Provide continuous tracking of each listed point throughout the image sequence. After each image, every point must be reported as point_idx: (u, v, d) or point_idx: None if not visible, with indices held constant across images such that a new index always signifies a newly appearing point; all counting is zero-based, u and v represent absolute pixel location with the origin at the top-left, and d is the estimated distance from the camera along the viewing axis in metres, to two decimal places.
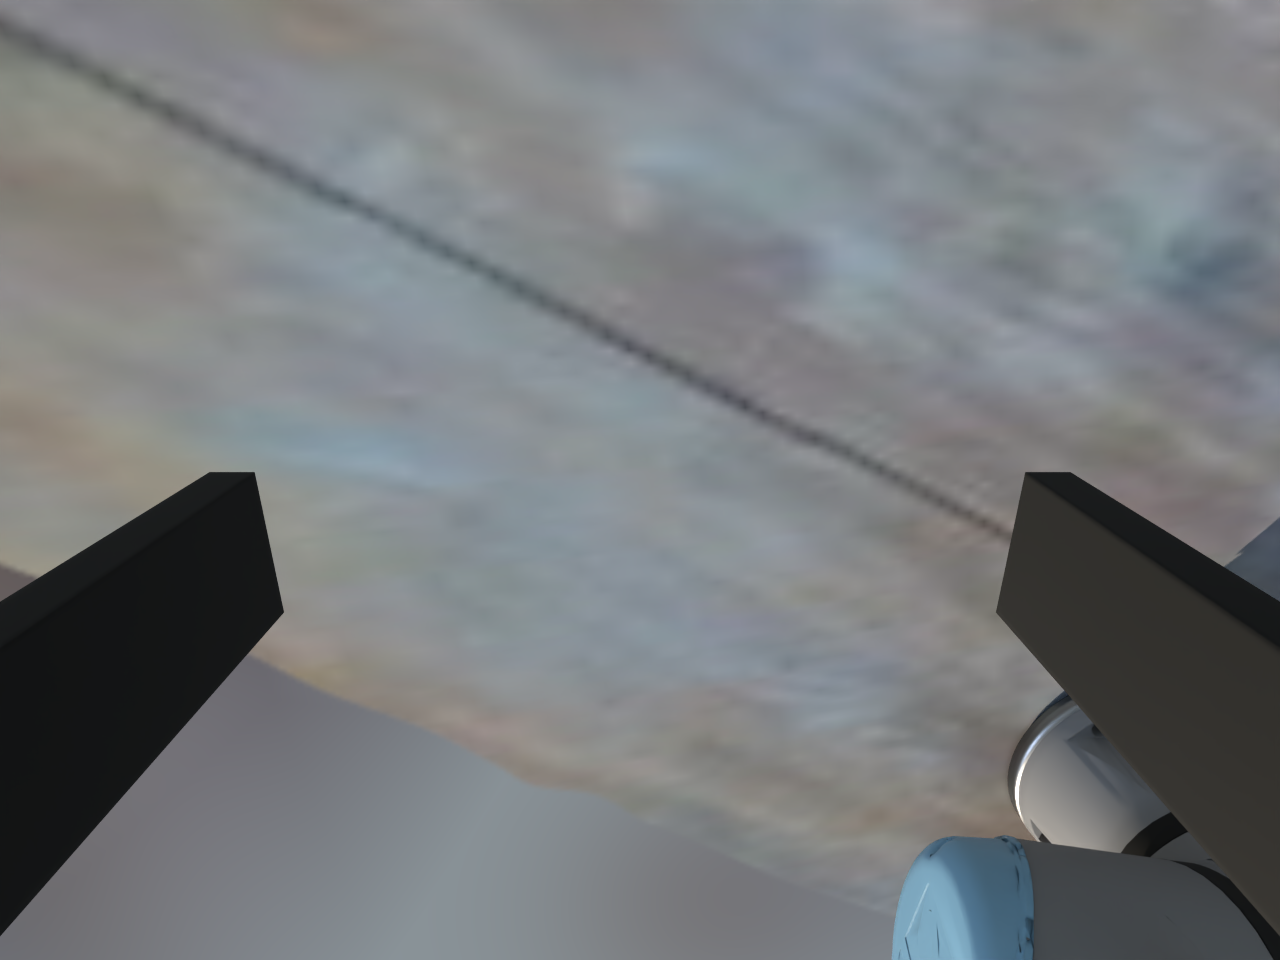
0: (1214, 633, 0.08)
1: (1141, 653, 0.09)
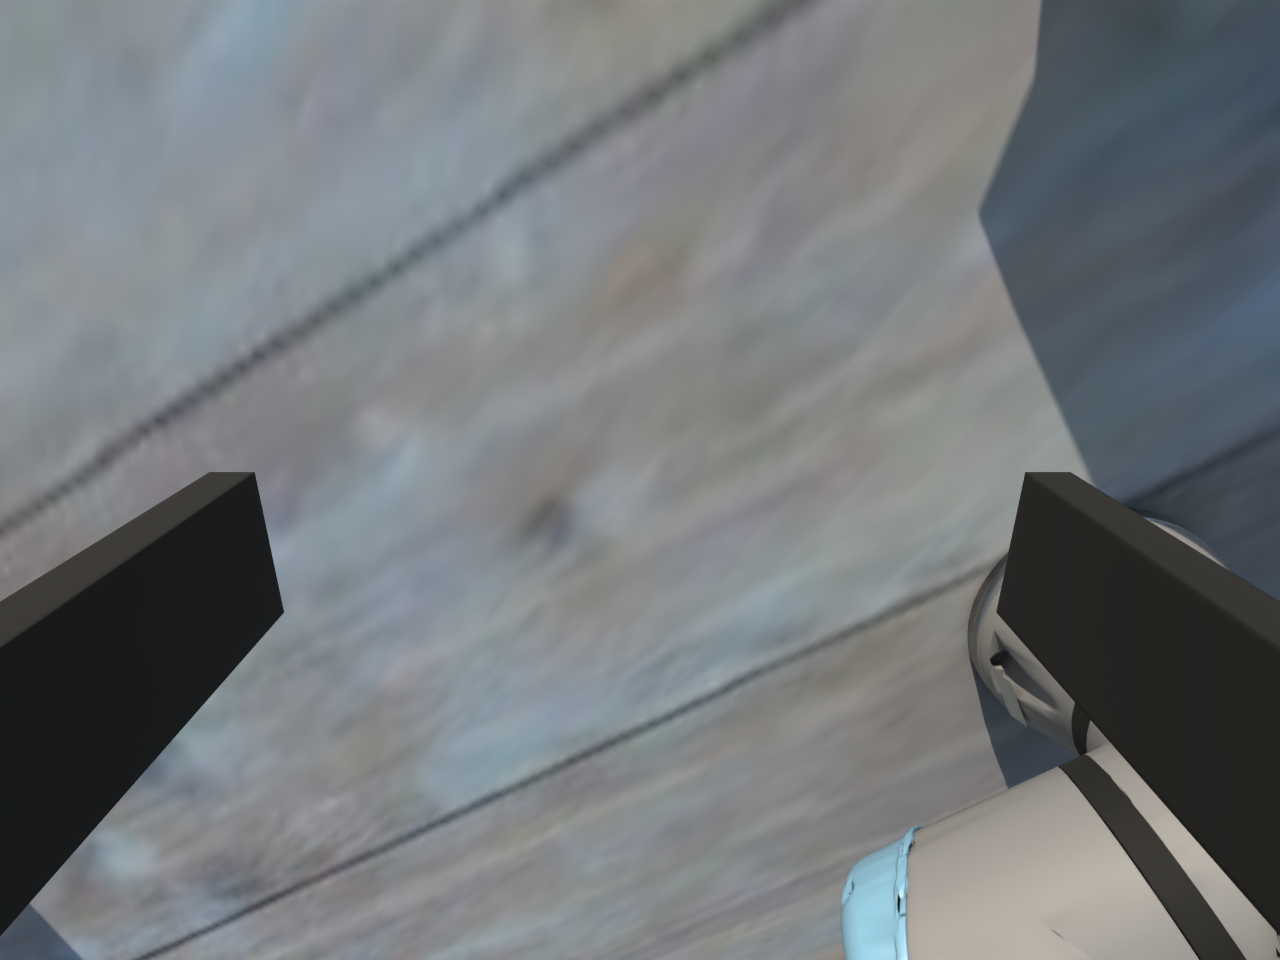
0: (1214, 633, 0.08)
1: (1141, 653, 0.09)
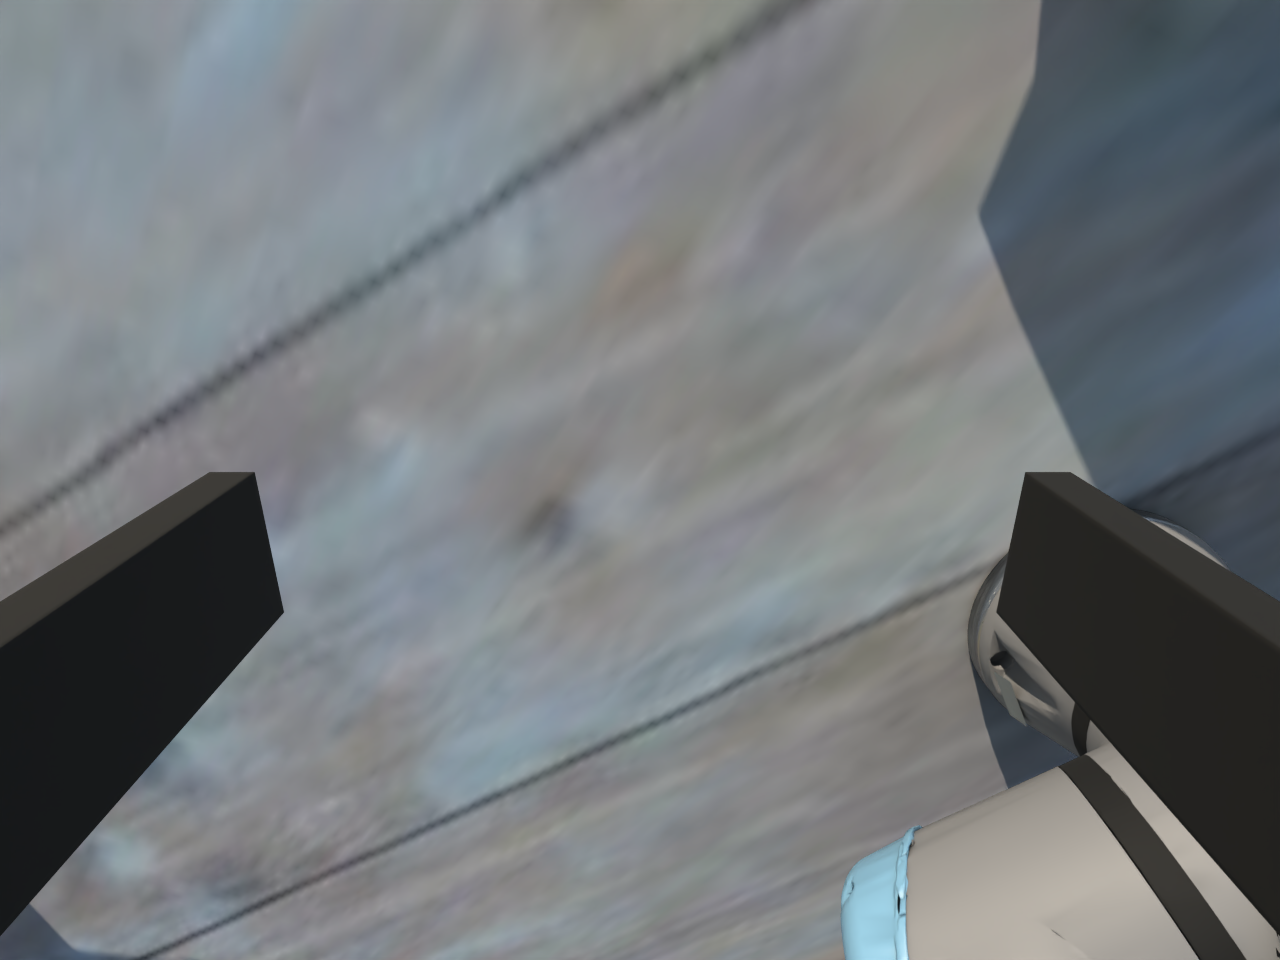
0: (1214, 633, 0.08)
1: (1141, 653, 0.09)
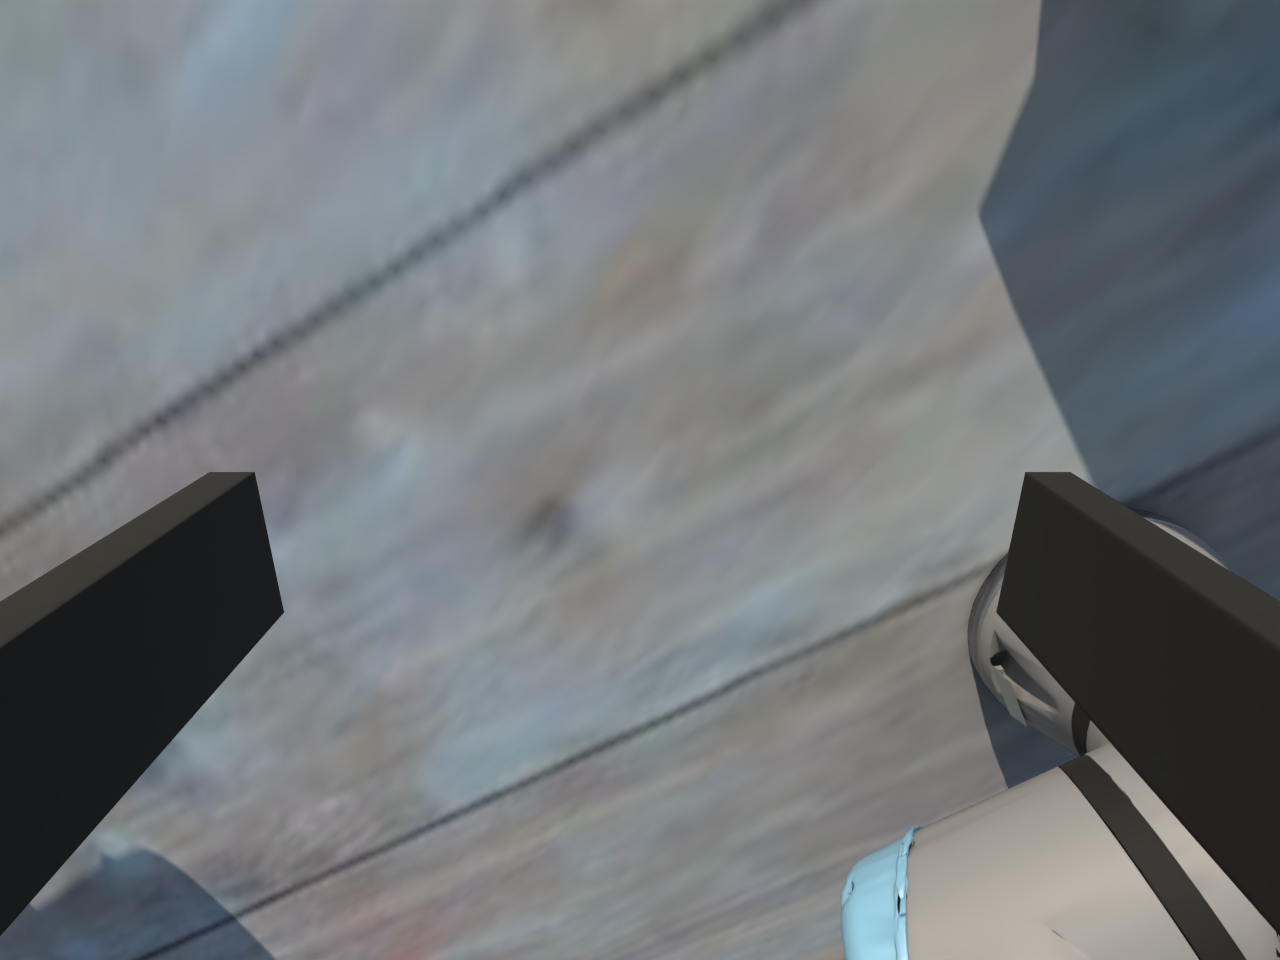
0: (1214, 633, 0.08)
1: (1141, 653, 0.09)
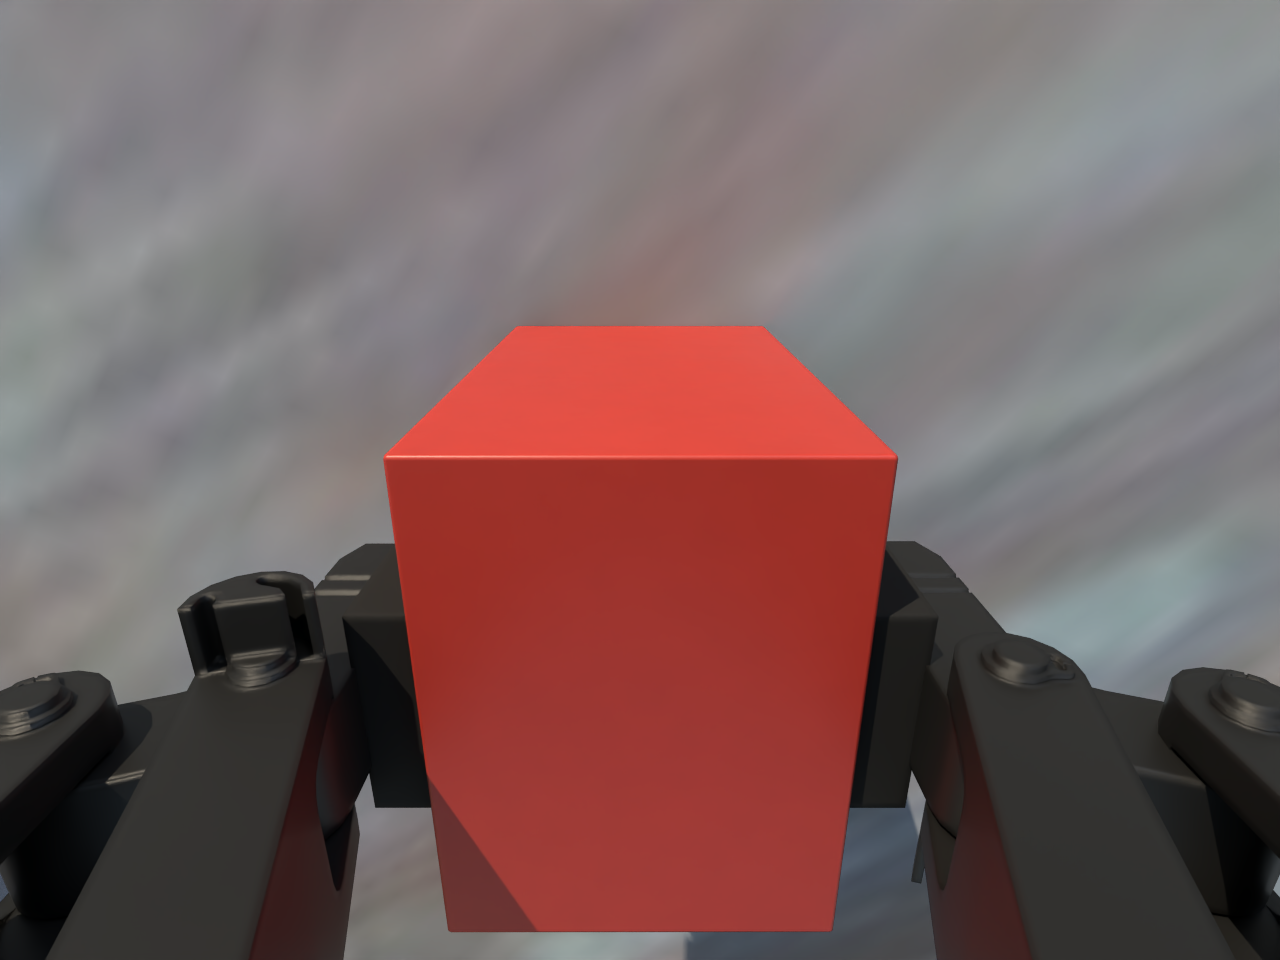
0: None
1: None
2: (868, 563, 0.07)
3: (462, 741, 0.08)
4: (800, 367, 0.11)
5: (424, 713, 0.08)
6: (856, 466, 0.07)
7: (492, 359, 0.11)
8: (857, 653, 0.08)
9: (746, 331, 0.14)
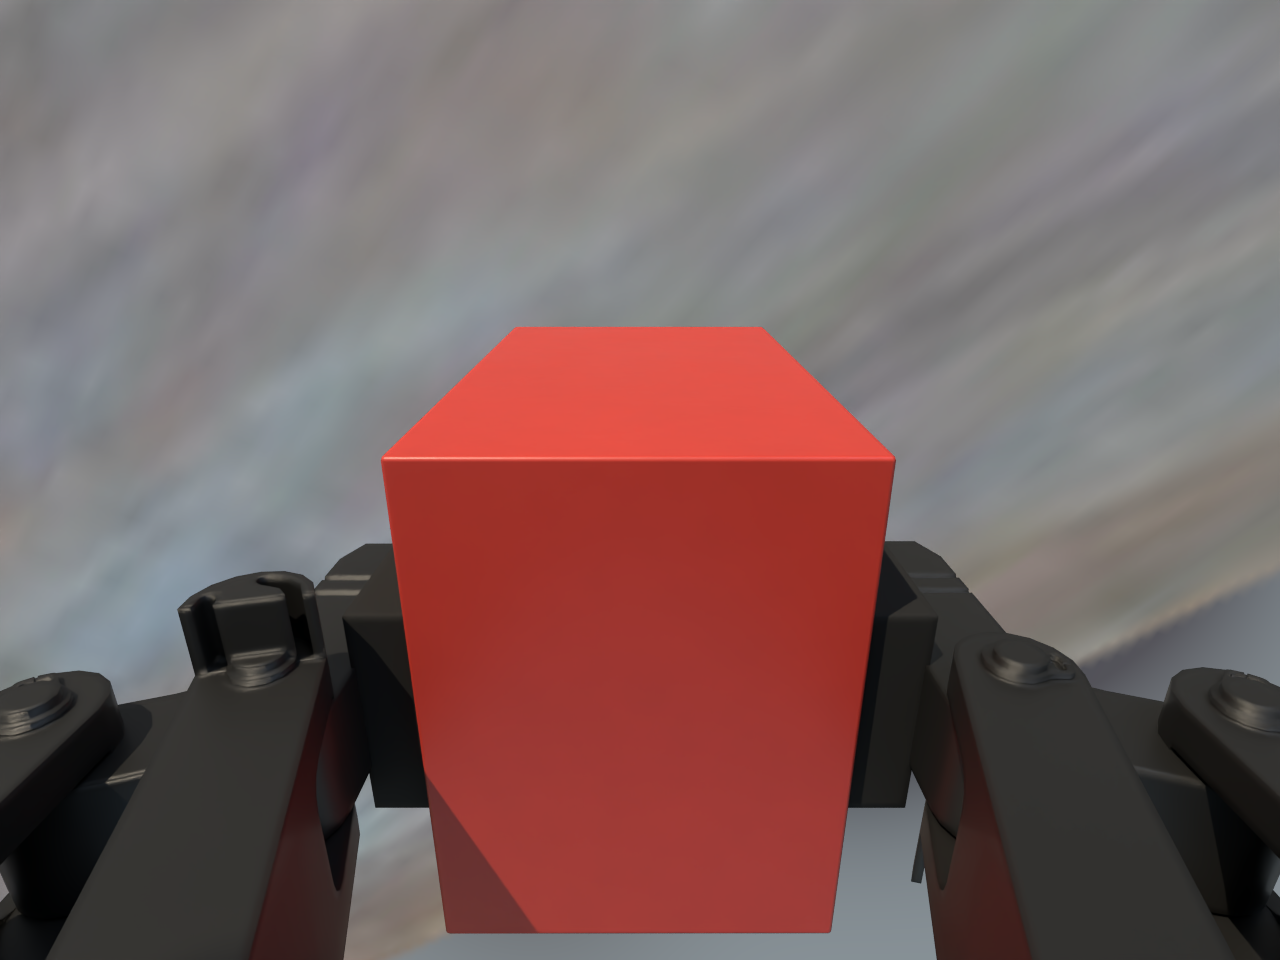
0: None
1: None
2: (866, 565, 0.07)
3: (460, 742, 0.08)
4: (799, 368, 0.11)
5: (423, 714, 0.08)
6: (854, 468, 0.07)
7: (491, 360, 0.11)
8: (855, 655, 0.08)
9: (745, 332, 0.14)
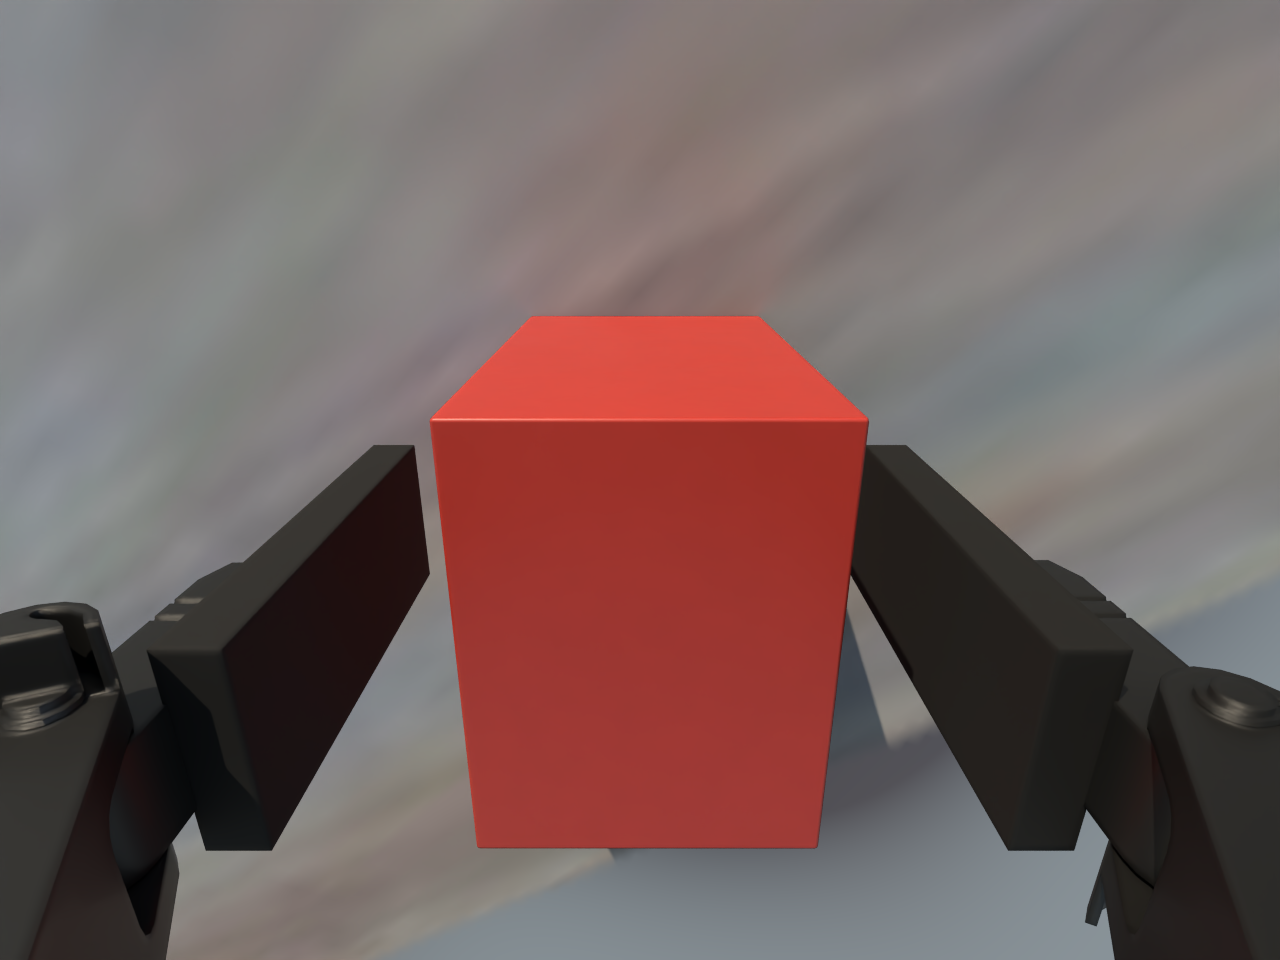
0: (959, 572, 0.09)
1: (924, 596, 0.10)
2: (844, 513, 0.08)
3: (493, 672, 0.09)
4: (790, 350, 0.12)
5: (460, 645, 0.09)
6: (833, 427, 0.08)
7: (512, 344, 0.12)
8: (836, 593, 0.09)
9: (743, 320, 0.15)
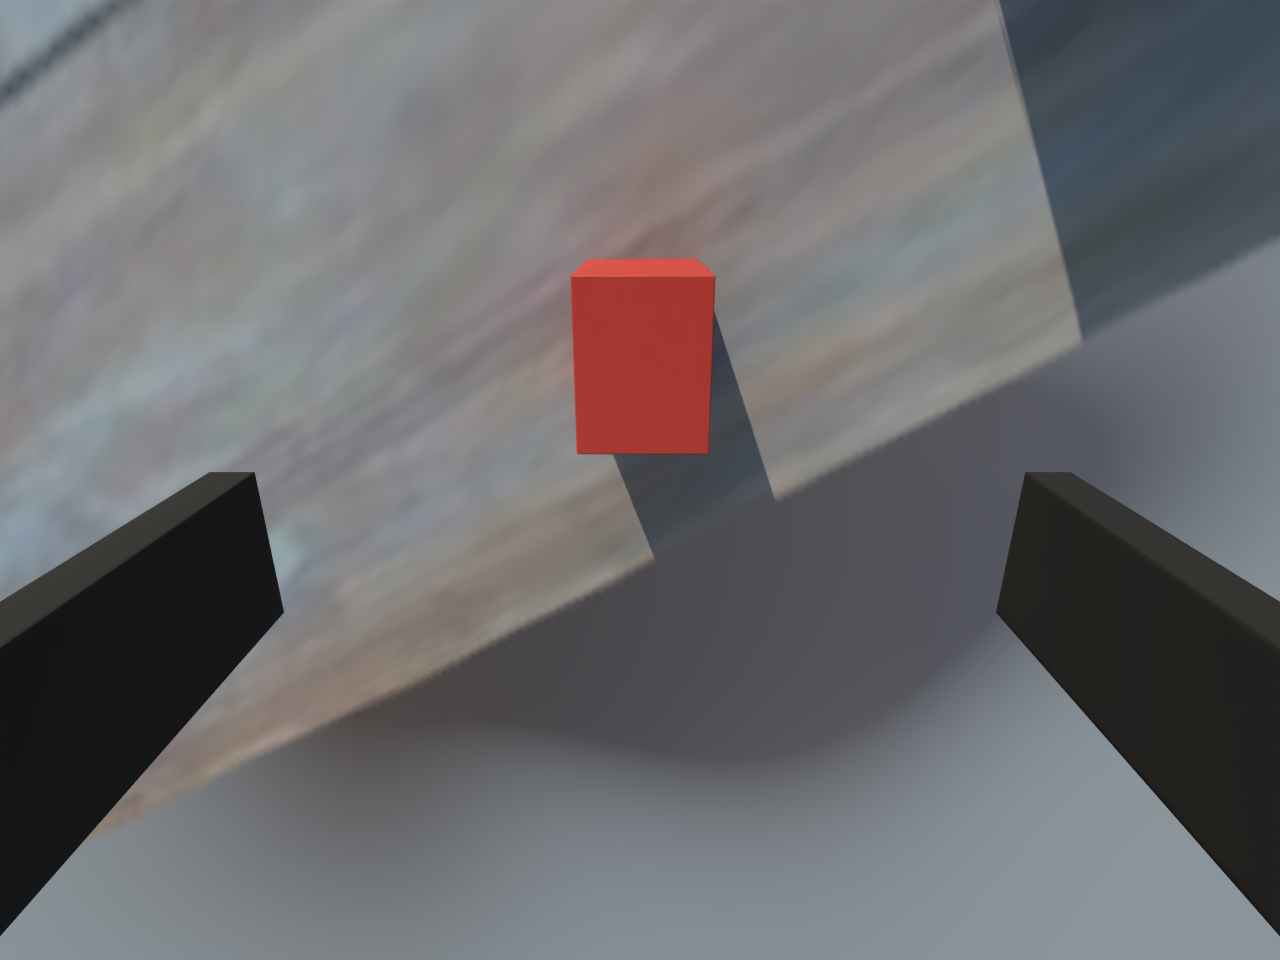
0: (1214, 633, 0.08)
1: (1141, 653, 0.09)
2: (709, 309, 0.25)
3: (587, 373, 0.26)
4: (702, 266, 0.28)
5: (576, 362, 0.25)
6: (703, 278, 0.24)
7: (585, 265, 0.29)
8: (708, 340, 0.25)
9: (689, 260, 0.31)
